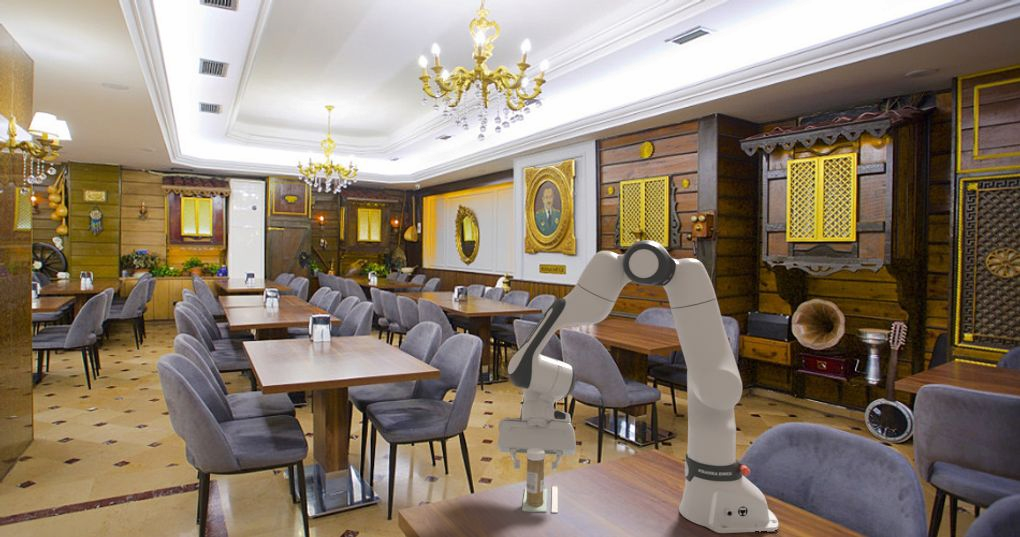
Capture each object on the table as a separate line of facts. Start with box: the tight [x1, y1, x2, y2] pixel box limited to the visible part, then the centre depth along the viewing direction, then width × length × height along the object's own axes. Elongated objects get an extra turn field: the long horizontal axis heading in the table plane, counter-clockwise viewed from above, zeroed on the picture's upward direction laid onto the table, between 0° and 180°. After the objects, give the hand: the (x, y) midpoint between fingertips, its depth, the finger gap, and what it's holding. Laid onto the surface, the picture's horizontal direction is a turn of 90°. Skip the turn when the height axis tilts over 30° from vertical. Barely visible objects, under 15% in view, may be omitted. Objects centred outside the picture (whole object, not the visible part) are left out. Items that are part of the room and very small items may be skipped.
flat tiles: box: [521, 485, 559, 514], centre depth 143 cm, size 9×15×1 cm, turn 175°
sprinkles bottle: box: [526, 448, 546, 506], centre depth 140 cm, size 5×5×13 cm
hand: (535, 468), depth 139 cm, fingers open, 8 cm apart
